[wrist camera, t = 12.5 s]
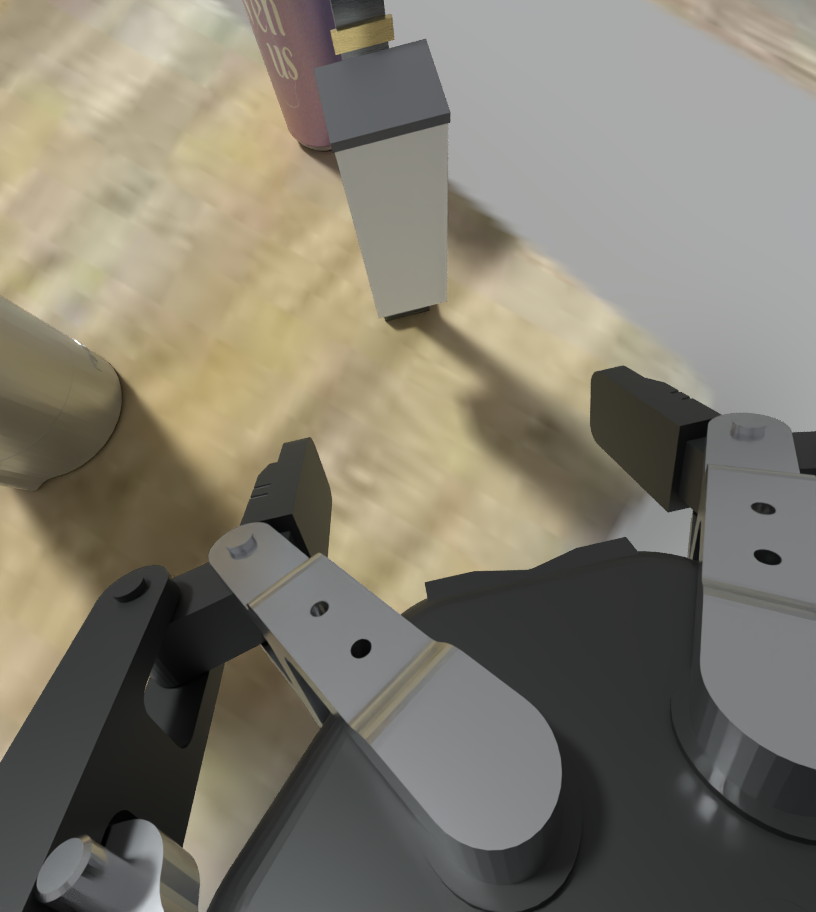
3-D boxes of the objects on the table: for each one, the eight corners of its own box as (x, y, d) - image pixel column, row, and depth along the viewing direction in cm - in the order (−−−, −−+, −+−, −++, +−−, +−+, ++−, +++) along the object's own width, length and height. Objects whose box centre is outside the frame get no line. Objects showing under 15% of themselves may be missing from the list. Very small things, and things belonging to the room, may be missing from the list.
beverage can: (381, 111, 33) (330, -245, 19) (336, 166, 32) (246, -163, 18) (319, 85, 34) (227, -268, 20) (275, 137, 33) (143, -194, 19)
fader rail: (429, 310, 28) (407, -40, 12) (385, 321, 28) (303, -12, 12) (422, 284, 29) (392, -84, 12) (379, 295, 29) (292, -57, 13)
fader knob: (448, 302, 21) (450, 112, 12) (378, 319, 22) (330, 143, 13) (433, 251, 22) (425, 38, 13) (366, 268, 22) (313, 68, 13)
